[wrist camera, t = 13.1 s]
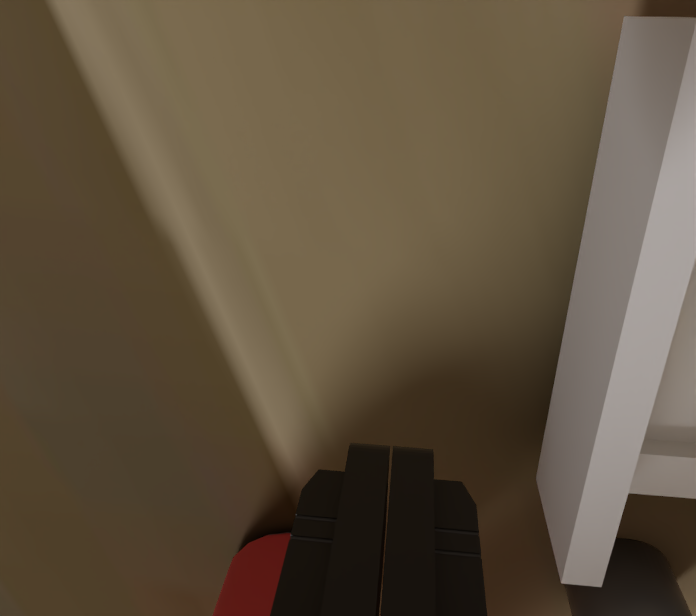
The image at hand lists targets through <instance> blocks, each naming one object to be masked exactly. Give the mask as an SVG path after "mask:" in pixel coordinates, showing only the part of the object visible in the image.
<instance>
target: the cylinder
mask: <svg viewBox="0 0 696 616" xmlns="http://www.w3.org/2000/svg"><path fill="white" fill-rule="evenodd" d="M565 588H566V592H567V596H568V600H569V604H570V608H571V612H572V616H692V614H691V612H690V610H689V608H688V605H687V603H686V601H685V599H684V596H683V594H682V592H681V590H680V587H679V585H678V583H677V581H676V578H675V576H674V574H673V572H672V569H671V567H670V565H669V563H668V561H667V559H666V558H665V556H664V555H663V554H662V553H661V552H660V551H658V550H657V549H656V548H654V547H652V546H650V545H648V544H646V543H643V542H640V541H636V540H629V539H615V542H614V545H613V549H612V552H611V556H610V559H609V563H608V566H607V570H606V573H605V577H604V580H603V584H602V587H594V586H583V585H573V584H565Z"/></svg>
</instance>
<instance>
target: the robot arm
mask: <svg viewBox="0 0 696 616" xmlns="http://www.w3.org/2000/svg"><path fill="white" fill-rule="evenodd" d="M389 453H390V446H382V445H370V444H358V443H350V446H349V451H348V457H347V462H346V468H345V472H341V471H330V470H318V471H317V472H316V473H315V475H314V476H313V477H312V478H311V479H310V481H309V482H308V483H307V484H306V485H305V487H304V488H303V489H302V491H301V495H300V499H299V503H298V507H297V511H296V517H295V519H294V523H293V527H292V531H291V535H290V540H289V542H288V546H287V550H286V554H285V558H284V562H283V566H282V570H281V574H280V578H279V582H278V586H277V590H276V594H275V597H274V601H273V605H272V609H271V613H270V616H379V607H380V594H381V581H382V569H383V556H384V543H385V528H386V512H387V493H388V473H389ZM381 616H487V610H486V600H485V590H484V579H483V569H482V559H481V549H480V539H479V529H478V519H477V509H476V504H475V503H474V501H473V499H472V498H471V496H470V494H469V493H468V491H467V489H466V488H465V486H464V485H463V483H462V482H458V481H446V480H435V479H434V460H433V449H421V448H409V447H397V446H393V455H392V469H391V482H390V496H389V509H388V523H387V536H386V550H385V563H384V576H383V590H382V603H381Z"/></svg>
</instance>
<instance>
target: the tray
mask: <svg viewBox="0 0 696 616" xmlns="http://www.w3.org/2000/svg"><path fill="white" fill-rule="evenodd" d="M536 482H537V486H538V490H539V494H540V498H541V502H542V507H543V511H544V515H545V519H546V523H547V527H548V531H549V536H550V540H551V544H552V548H553V552H554V556H555V560H556V565H557V569H558V573H559V577H560V581H561V583H563V584H573V585H583V586H594V587H602V584H603V580H604V577H605V573H606V570H607V566H608V563H609V559H610V556H611V552H612V549H613V545H614V542H615V538H616V535H617V531H618V528H619V524H620V521H621V517H622V514H623V510H624V507H625V503H626V500H627V496H628V493H632V494H644V495H656V496H668V497H681V498H693V499H696V17H651V16H624V20H623V25H622V30H621V36H620V41H619V46H618V51H617V56H616V62H615V67H614V72H613V77H612V83H611V88H610V93H609V98H608V104H607V109H606V114H605V119H604V124H603V130H602V135H601V140H600V145H599V151H598V156H597V161H596V166H595V172H594V177H593V182H592V187H591V192H590V198H589V203H588V208H587V213H586V219H585V224H584V229H583V234H582V240H581V245H580V250H579V255H578V260H577V266H576V271H575V276H574V281H573V287H572V292H571V297H570V302H569V308H568V313H567V318H566V323H565V328H564V334H563V339H562V344H561V349H560V355H559V360H558V365H557V370H556V376H555V381H554V386H553V391H552V396H551V402H550V407H549V412H548V417H547V423H546V428H545V433H544V438H543V443H542V449H541V454H540V459H539V464H538V470H537V475H536Z"/></svg>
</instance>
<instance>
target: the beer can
mask: <svg viewBox="0 0 696 616" xmlns="http://www.w3.org/2000/svg"><path fill="white" fill-rule="evenodd" d="M290 535H291V532H285V533H277V534H269V535H266V536H264V537H261V538H259V539H257V540H254V541H252V542H250V543H248V544H247V545H246V546H245V547H244V548H243V549H242V550H240V551H239V552H238V553H237V554H236V555H235V556H234V557H233V560H232V562H231V565H230V567H229V570H228V573H227V575H226V578H225V581H224V584H223V587H222V590H221V593H220V596H219V598H218V601H217V604H216V607H215V610H214V613H213V616H270V613H271V609H272V605H273V601H274V597H275V594H276V590H277V586H278V582H279V578H280V574H281V570H282V566H283V562H284V558H285V554H286V550H287V546H288V542H289V540H290Z"/></svg>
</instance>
